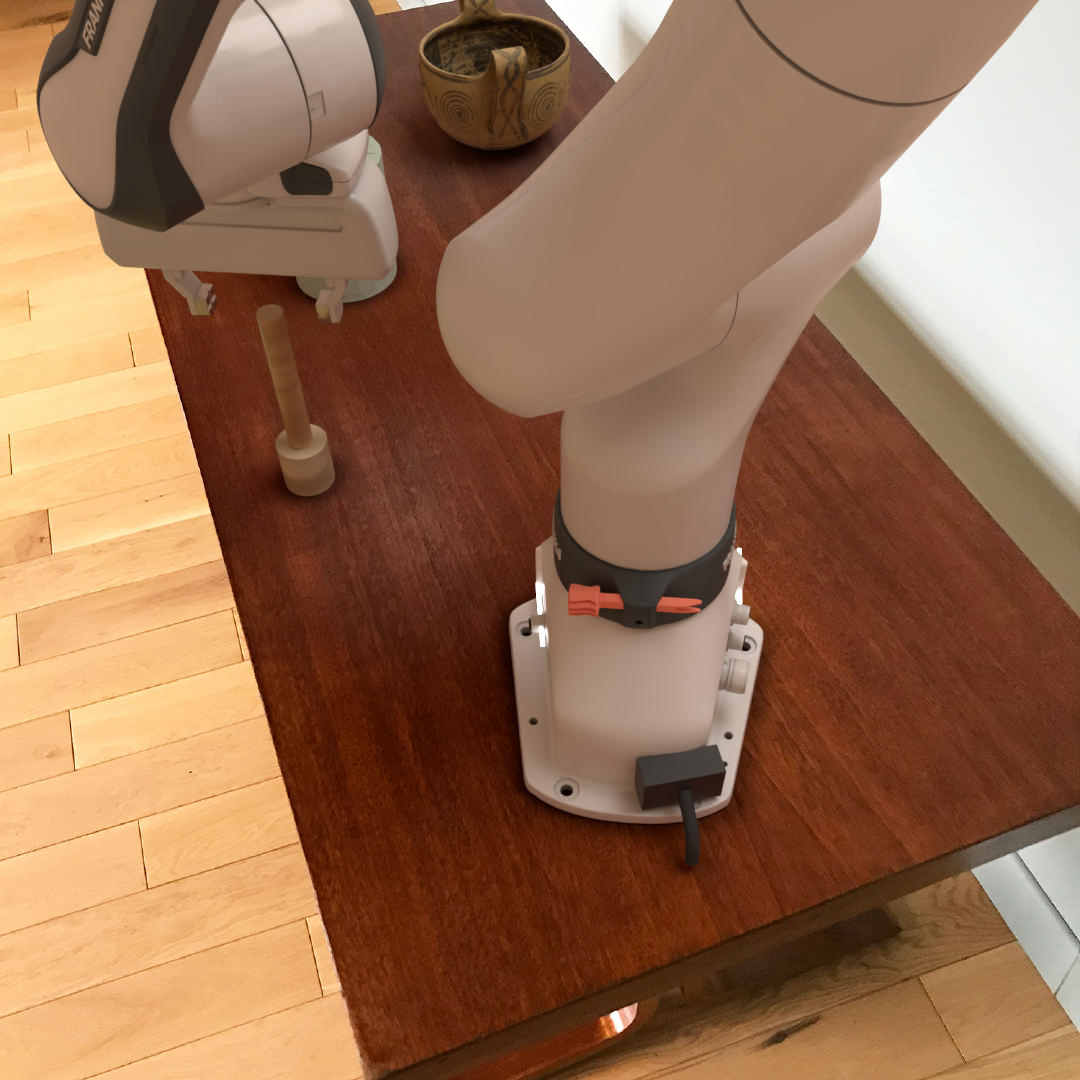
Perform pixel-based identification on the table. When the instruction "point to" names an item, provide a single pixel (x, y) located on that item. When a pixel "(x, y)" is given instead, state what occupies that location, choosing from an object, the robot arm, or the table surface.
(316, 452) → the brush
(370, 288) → the pale green pen cup
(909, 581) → the table surface
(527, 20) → the ceramic bowl
